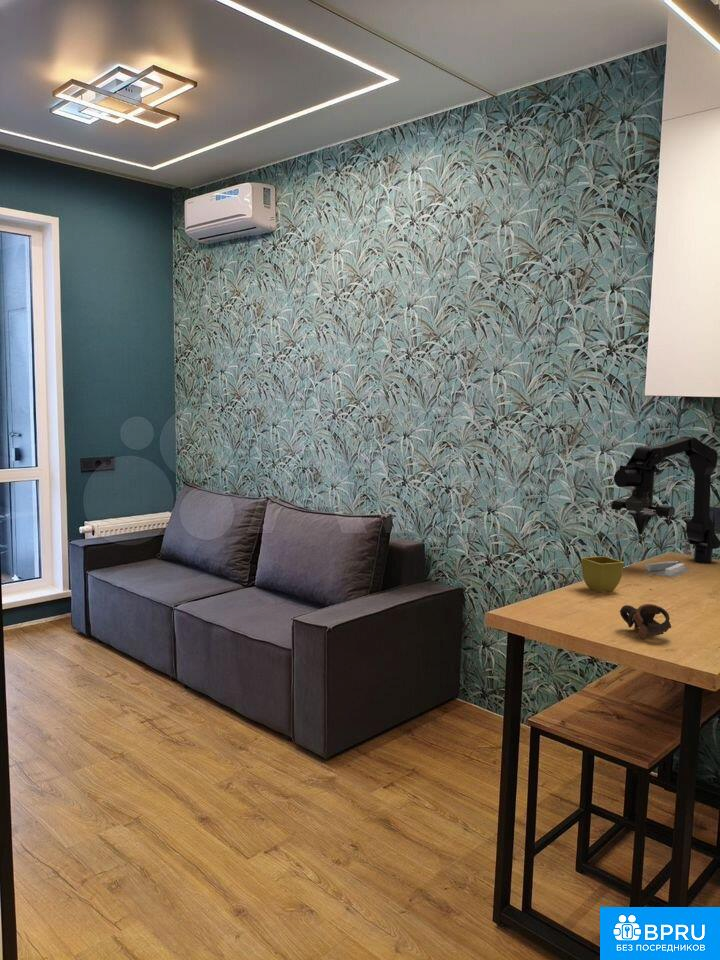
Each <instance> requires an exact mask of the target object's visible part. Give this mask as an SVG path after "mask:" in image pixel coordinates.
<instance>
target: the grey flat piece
mask: <svg viewBox="0 0 720 960" xmlns="http://www.w3.org/2000/svg"><path fill="white" fill-rule="evenodd" d="M685 565H686V563H682V562H680V563H679V564H676V565H674V566H671V567H669V568H666V569H664V570H655V571H648V570H645V571H644V573H646V574H651V575H658V576H660V577H661V576H662V577H668V578H675V577H678V576H680V575H682V574H684V573H687V572H689V571H691V570H692V569H690V568H685Z"/></svg>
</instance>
